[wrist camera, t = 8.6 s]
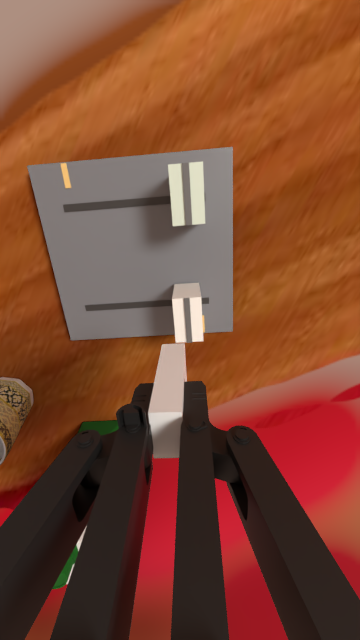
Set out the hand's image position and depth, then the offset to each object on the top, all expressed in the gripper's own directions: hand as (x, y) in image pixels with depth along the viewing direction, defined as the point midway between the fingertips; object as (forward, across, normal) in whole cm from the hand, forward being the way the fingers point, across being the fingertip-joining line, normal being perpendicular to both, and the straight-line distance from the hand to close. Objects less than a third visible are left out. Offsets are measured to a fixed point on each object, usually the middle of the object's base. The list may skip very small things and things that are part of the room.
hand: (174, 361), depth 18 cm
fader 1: (+17, +1, +11) cm, 20 cm away
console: (+19, -5, +5) cm, 20 cm away
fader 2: (+17, +1, -1) cm, 17 cm away
